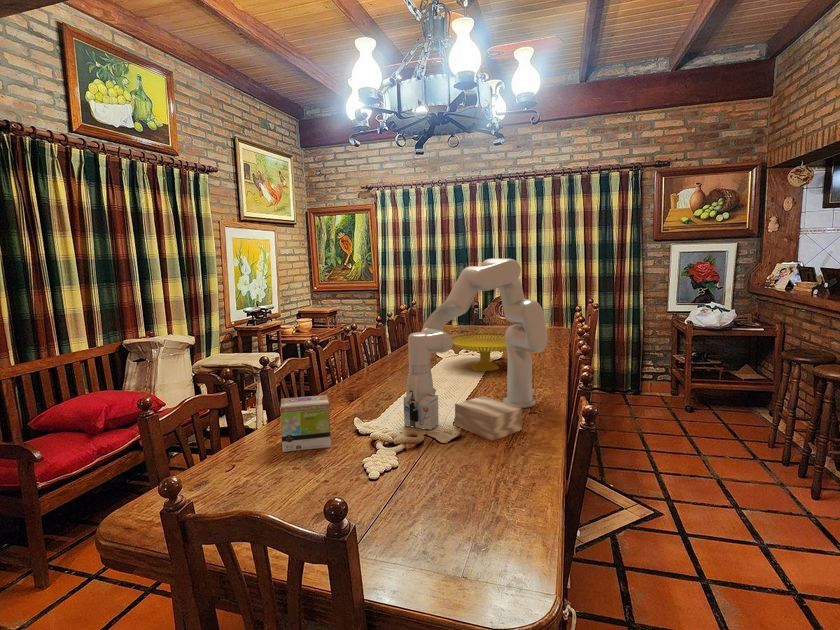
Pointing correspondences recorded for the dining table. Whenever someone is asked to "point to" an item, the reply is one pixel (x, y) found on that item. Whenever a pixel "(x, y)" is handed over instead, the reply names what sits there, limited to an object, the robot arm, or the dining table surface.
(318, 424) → the tea box
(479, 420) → the birch block
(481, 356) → the cake stand
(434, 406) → the light bulb box
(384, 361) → the dining table surface
